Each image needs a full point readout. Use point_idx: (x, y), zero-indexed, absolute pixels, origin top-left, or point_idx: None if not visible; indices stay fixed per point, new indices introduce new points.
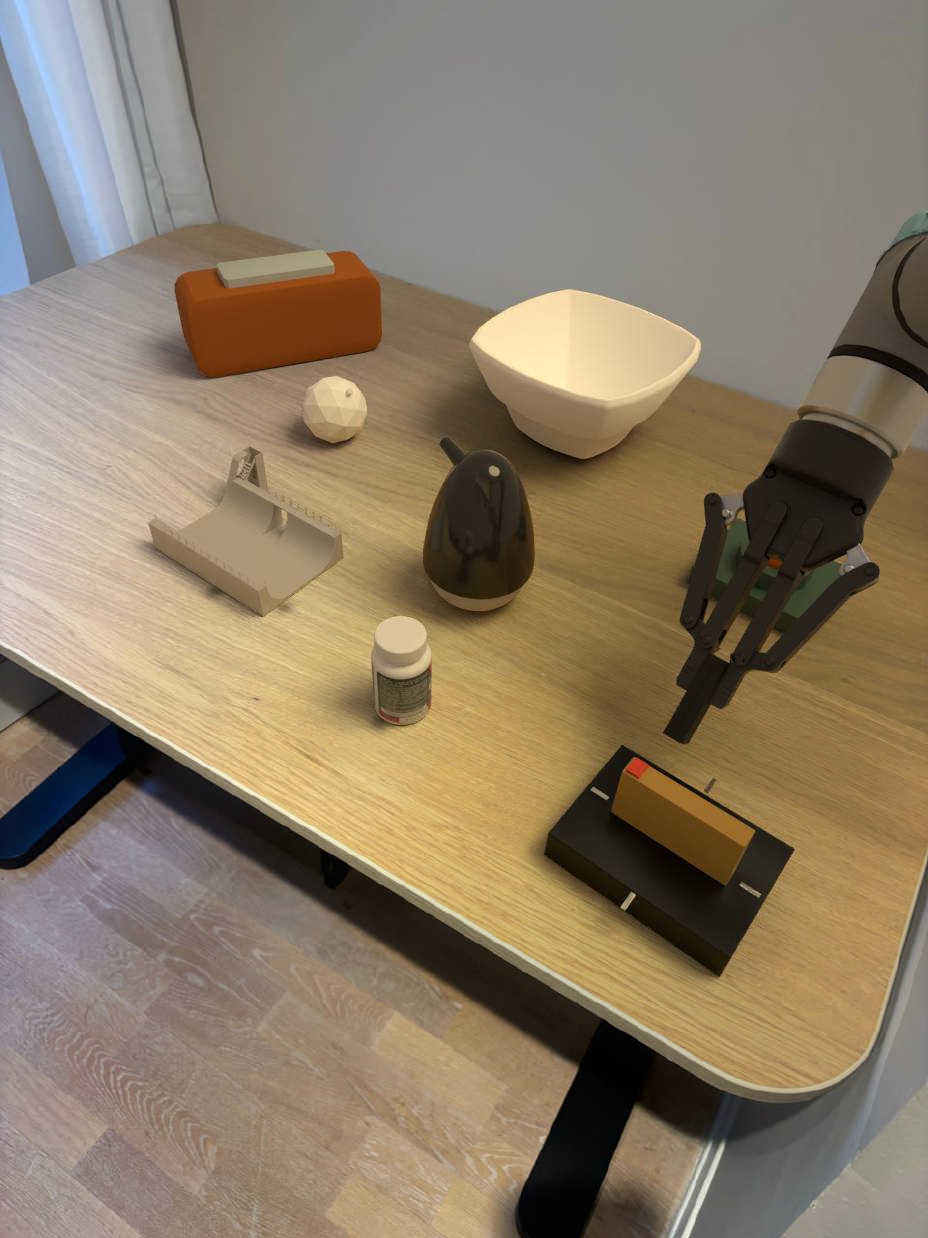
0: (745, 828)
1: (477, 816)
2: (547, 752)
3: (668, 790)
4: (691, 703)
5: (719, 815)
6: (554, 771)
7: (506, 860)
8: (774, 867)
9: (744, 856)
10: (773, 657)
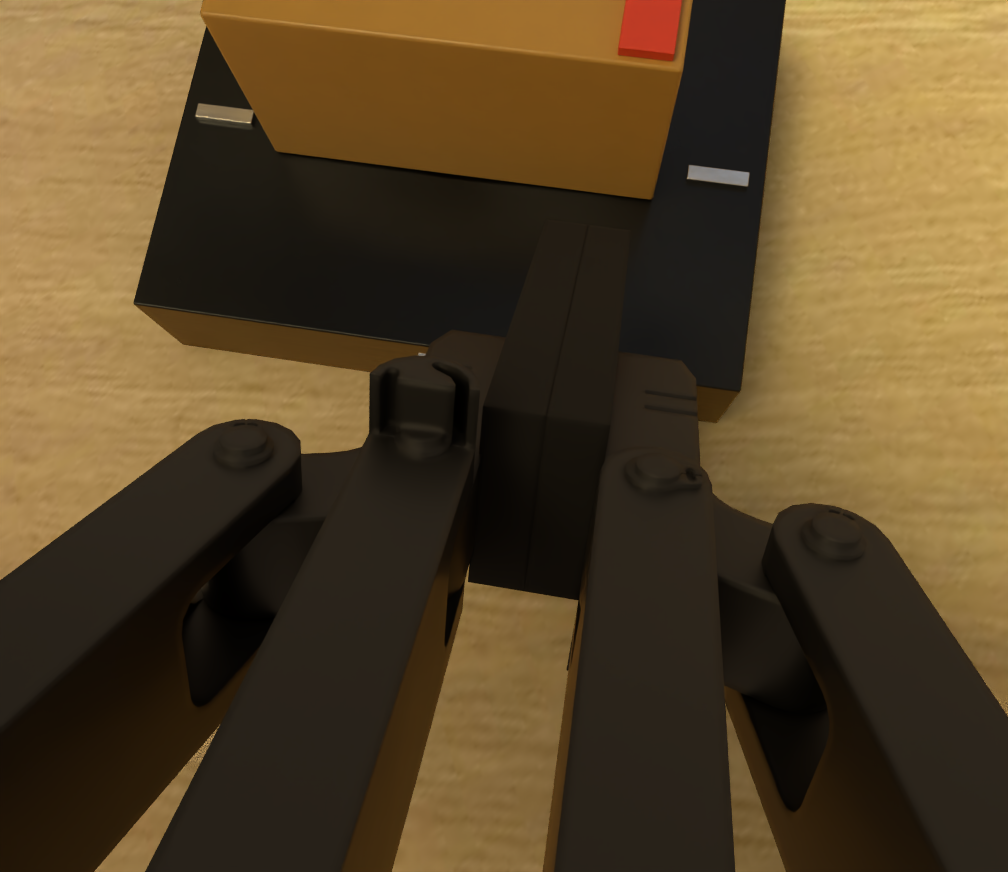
0: (232, 4)
1: (972, 81)
2: (925, 367)
3: (515, 3)
4: (575, 290)
5: (324, 4)
6: (870, 316)
7: (833, 15)
8: (177, 214)
9: (262, 203)
10: (222, 471)
